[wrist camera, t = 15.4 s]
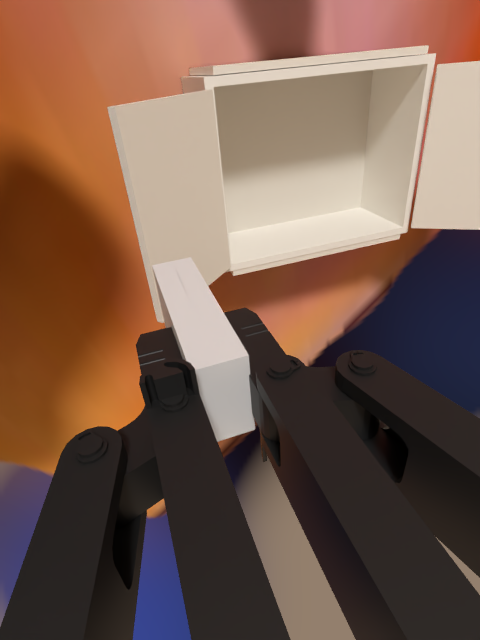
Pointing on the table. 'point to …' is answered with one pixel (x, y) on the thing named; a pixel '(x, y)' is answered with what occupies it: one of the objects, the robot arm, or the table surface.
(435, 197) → the flap
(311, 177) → the carton
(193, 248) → the flap
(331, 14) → the table surface
